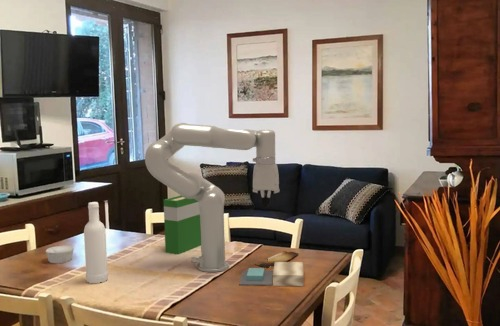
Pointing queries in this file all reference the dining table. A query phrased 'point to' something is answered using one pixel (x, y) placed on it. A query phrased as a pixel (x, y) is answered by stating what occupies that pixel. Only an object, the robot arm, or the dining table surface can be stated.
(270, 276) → the mat
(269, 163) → the robot arm
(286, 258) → the parchment
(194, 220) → the hardback book
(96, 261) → the bottle
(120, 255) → the dining table surface
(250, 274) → the tile
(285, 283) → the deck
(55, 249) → the ramekin
